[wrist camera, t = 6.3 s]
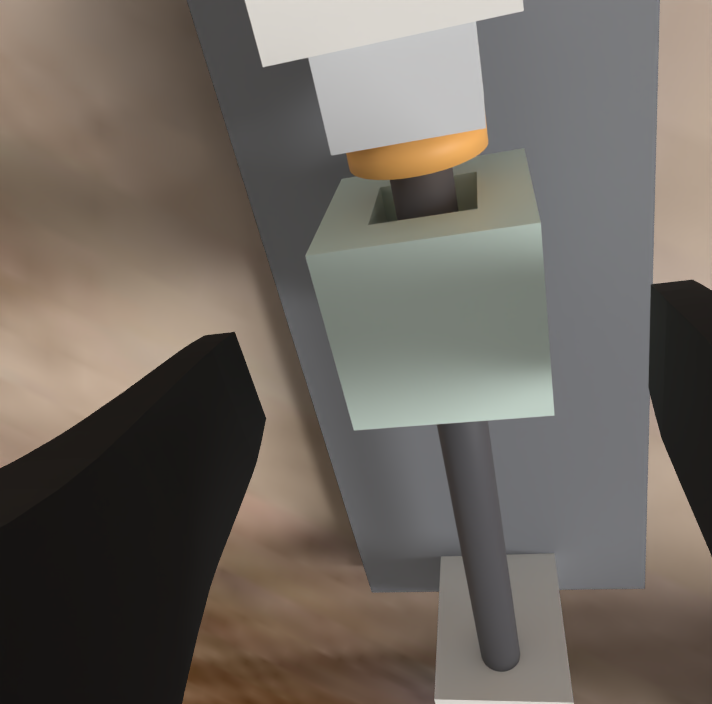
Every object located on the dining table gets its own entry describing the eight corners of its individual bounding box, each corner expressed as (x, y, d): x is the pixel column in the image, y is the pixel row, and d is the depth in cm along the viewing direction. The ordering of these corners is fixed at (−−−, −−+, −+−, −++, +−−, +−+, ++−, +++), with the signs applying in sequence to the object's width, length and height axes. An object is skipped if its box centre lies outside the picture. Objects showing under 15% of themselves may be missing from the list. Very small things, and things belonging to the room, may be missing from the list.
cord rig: (638, 561, 24) (684, 743, 19) (375, 567, 27) (352, 731, 22) (649, -176, 13) (774, -234, 8) (190, -53, 15) (41, -32, 10)
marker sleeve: (537, 311, 16) (554, 415, 13) (376, 329, 17) (354, 430, 14) (523, 148, 14) (541, 222, 11) (341, 178, 15) (305, 255, 12)
